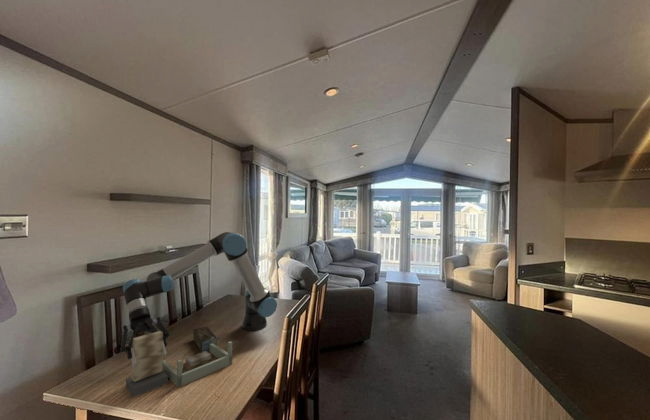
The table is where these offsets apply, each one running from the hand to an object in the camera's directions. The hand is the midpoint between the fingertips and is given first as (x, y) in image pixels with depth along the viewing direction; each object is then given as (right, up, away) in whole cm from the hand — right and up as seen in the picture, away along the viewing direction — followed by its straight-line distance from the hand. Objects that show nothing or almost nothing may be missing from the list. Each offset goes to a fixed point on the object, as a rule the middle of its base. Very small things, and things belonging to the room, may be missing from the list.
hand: (150, 360), depth 112 cm
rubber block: (-2, -11, +2) cm, 11 cm away
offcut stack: (+13, -11, +13) cm, 22 cm away
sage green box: (+12, -11, +15) cm, 23 cm away
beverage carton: (+5, -13, +38) cm, 41 cm away
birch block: (-2, -7, +2) cm, 8 cm away
